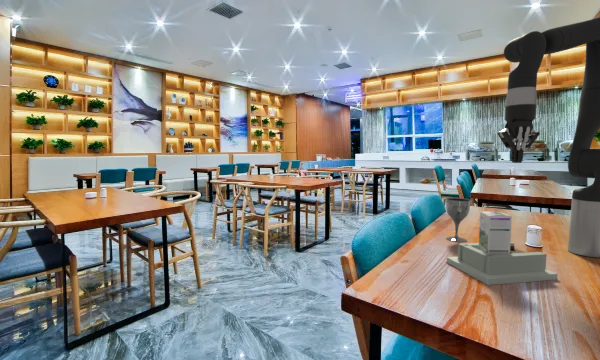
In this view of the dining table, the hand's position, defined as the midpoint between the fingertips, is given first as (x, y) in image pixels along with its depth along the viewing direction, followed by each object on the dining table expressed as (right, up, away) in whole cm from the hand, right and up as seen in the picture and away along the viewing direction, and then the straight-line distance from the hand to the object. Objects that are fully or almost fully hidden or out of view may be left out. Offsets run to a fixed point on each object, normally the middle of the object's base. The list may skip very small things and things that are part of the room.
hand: (516, 162), depth 96 cm
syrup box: (-14, -29, -10) cm, 34 cm away
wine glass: (-8, -27, +20) cm, 35 cm away
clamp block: (-8, -28, -9) cm, 31 cm away
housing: (-12, -30, -10) cm, 34 cm away
